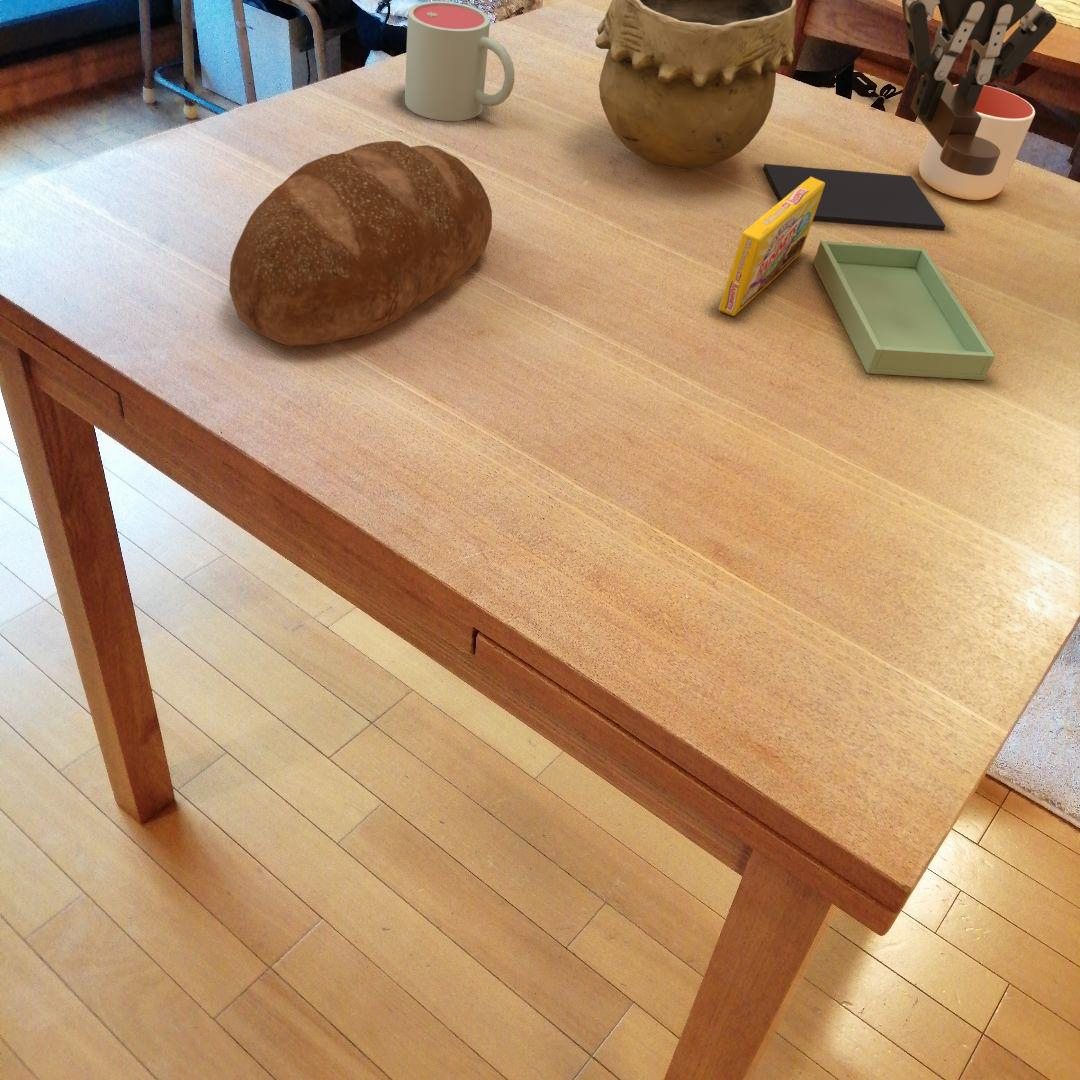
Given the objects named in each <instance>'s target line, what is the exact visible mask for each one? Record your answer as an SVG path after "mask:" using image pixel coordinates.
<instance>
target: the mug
mask: <svg viewBox="0 0 1080 1080" xmlns="http://www.w3.org/2000/svg"><path fill="white" fill-rule="evenodd" d="M406 24H407V26H406V27H407V28H406V53H405V54H406V55H405V56H406V58H405V85H404V86H405V87H404V104H405V106H406V108H407V109H408V110H410V111H411V112H413V113H414V114H416V115H418V116H421V117H424V118H427V119H431V120H435V121H444V122H460V121H466V120H470V119H473V118H476V117H478V116H479V115H480V114H481V113H482V112H483V109H484V106H488V107H494V106H495V107H496V106H499V105H501V104H503V103H505V101H506V100H507V99H508V98H509V97H510V96H511V93H512V92H513V89H514V84H515V67H514V63H513V60H512V58H511V54H510V53H509V52H508V50H507V49H506V47H505V46H504V45H503V44H502V43H501V42H499V41H498V40H496V39H495V38H493V37H490V25H491V19H490V16H489V15H488V14H487V13H486V12H485V11H483V10H482V9H479V8H477V7H474V6H472V5H469V4H465V3H460V2H455V1H447V0H446V1H445V0H431V1H423V2H419V3H416V4H413V5H412V6H410V7H409V8H408V10H407V23H406ZM488 51H492V53H494V54H495V55H496V56H497V57H498V59H499V60H500V63H501V65H502V67H503V72H504V81H503V84H502V87H501V89H500V90H499V91H498V92H497V93H495V94H486V93H485V86H486V73H487V63H488V61H487V60H488Z"/></svg>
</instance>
